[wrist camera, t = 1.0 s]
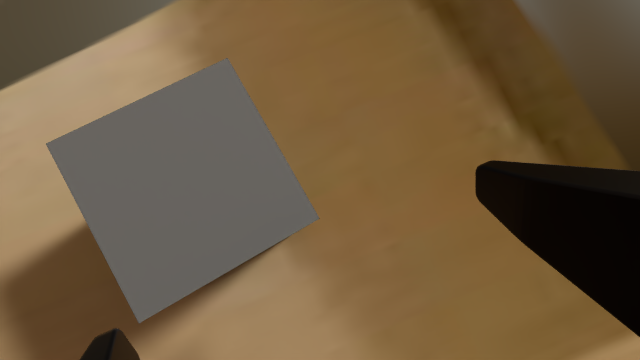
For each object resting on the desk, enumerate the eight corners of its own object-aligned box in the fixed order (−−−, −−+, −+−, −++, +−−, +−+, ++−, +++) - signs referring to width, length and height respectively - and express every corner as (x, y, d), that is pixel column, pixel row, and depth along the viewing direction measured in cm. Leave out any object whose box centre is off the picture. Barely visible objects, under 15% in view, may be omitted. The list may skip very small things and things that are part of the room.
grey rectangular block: (302, 226, 22) (319, 218, 13) (200, 285, 21) (138, 323, 12) (248, 131, 23) (227, 57, 13) (146, 184, 21) (45, 143, 12)
